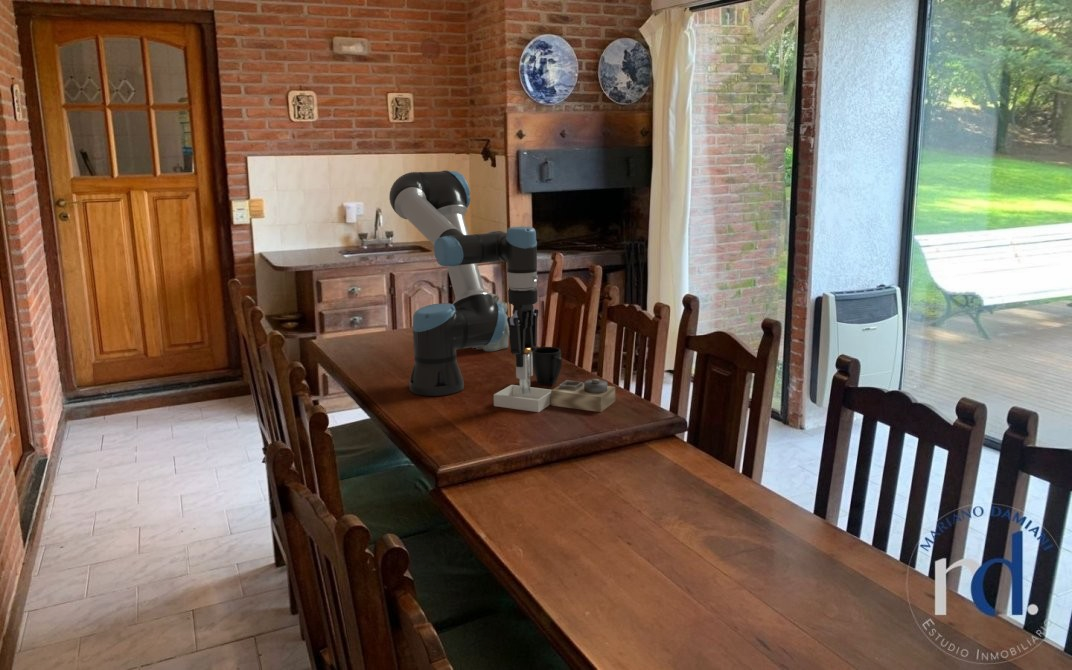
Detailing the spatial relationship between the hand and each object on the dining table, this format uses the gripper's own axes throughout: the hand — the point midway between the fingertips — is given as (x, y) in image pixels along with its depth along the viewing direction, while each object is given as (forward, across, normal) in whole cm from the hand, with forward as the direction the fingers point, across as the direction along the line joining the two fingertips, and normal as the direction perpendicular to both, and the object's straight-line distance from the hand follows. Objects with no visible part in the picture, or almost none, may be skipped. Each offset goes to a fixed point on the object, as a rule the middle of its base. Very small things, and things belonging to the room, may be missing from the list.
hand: (524, 376), depth 225 cm
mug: (+8, +20, +2) cm, 21 cm away
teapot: (+7, +51, +42) cm, 66 cm away
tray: (+7, 0, 0) cm, 7 cm away
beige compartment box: (+8, +7, -14) cm, 17 cm away
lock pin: (+4, 0, 0) cm, 4 cm away
